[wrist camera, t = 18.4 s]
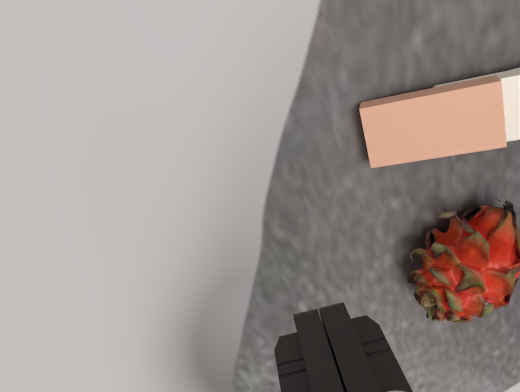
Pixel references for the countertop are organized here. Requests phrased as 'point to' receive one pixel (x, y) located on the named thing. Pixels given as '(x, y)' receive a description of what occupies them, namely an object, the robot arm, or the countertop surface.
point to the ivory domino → (507, 100)
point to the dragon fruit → (469, 264)
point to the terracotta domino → (435, 122)
